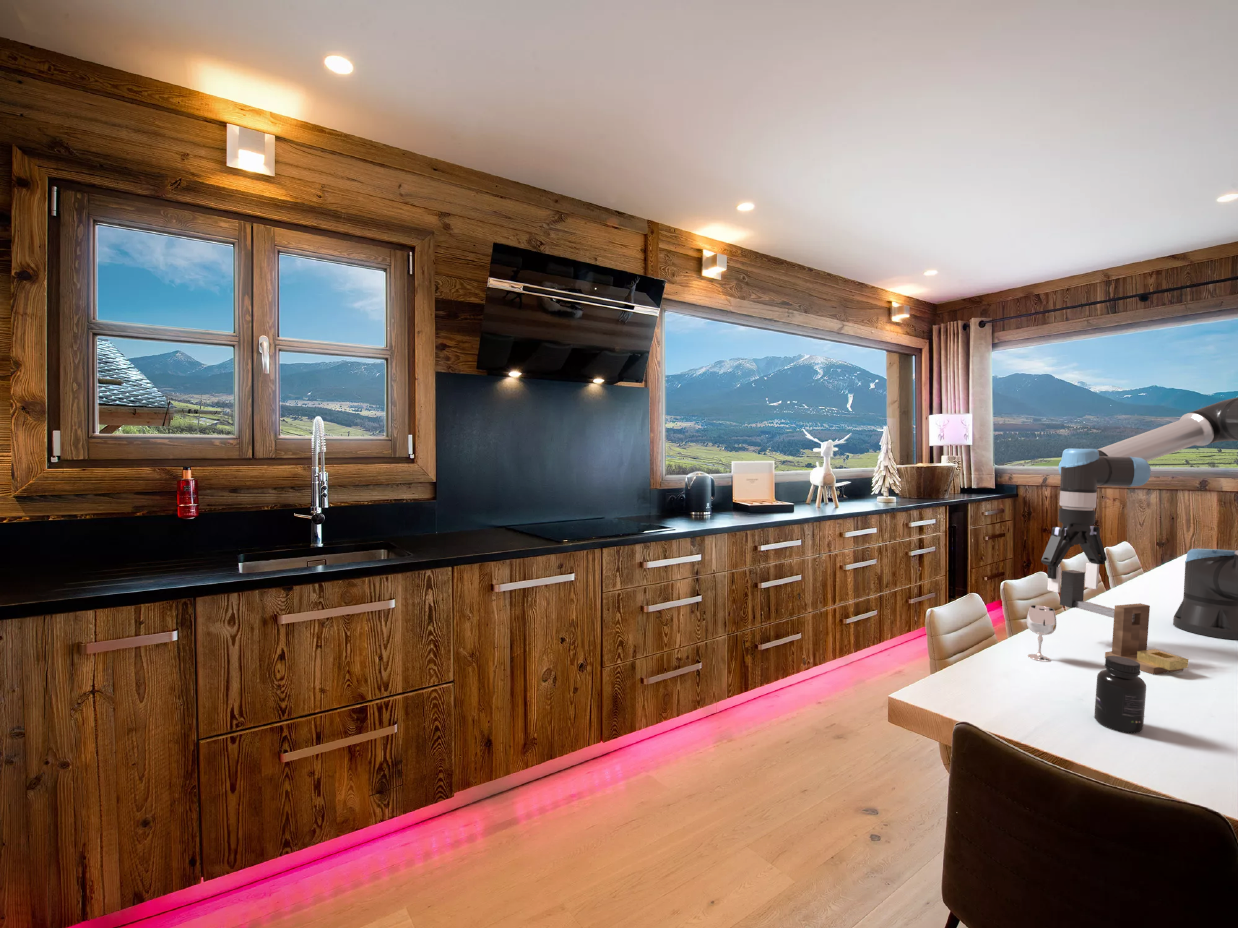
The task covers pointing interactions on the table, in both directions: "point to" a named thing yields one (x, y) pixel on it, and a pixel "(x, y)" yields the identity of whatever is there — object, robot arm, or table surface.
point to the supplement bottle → (1120, 695)
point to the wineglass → (1041, 626)
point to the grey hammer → (1080, 594)
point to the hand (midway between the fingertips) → (1072, 589)
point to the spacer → (1162, 659)
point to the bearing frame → (1132, 635)
